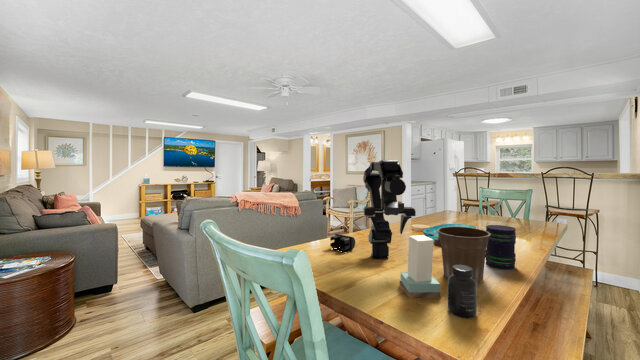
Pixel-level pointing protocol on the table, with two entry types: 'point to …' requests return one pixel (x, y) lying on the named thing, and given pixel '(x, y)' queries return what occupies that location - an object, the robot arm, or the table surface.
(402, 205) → the robot arm
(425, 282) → the tower top
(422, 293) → the tower base
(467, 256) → the plant pot
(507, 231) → the storage jar
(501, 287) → the table surface
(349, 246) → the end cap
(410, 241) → the cream block
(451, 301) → the supplement bottle
